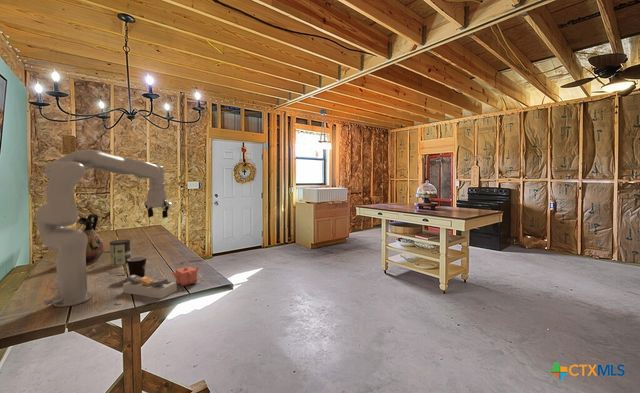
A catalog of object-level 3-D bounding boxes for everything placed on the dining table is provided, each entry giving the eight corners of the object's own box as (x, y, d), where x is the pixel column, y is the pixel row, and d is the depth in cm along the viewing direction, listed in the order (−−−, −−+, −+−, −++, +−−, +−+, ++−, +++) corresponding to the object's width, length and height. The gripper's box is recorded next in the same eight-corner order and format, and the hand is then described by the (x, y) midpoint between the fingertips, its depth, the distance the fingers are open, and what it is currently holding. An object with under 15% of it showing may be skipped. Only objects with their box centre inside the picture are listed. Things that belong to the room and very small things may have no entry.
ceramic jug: (91, 265, 169) (89, 216, 166) (66, 265, 169) (63, 216, 167) (112, 257, 186) (110, 212, 183) (89, 257, 186) (87, 212, 184)
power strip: (161, 298, 124) (160, 288, 124) (115, 291, 132) (114, 281, 131) (176, 290, 133) (176, 281, 132) (132, 284, 140) (132, 275, 140)
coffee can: (126, 260, 180) (125, 238, 179) (134, 263, 174) (133, 240, 173) (107, 264, 171) (106, 241, 170) (115, 267, 166) (114, 244, 165)
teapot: (166, 284, 141) (165, 267, 140) (196, 276, 152) (196, 261, 151) (175, 290, 133) (174, 273, 132) (206, 282, 144) (205, 266, 143)
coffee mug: (137, 280, 145) (136, 261, 145) (123, 279, 147) (122, 260, 146) (155, 273, 157) (154, 255, 156) (141, 271, 158) (141, 254, 158)
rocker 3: (160, 285, 125) (160, 281, 125) (150, 286, 127) (149, 282, 127) (168, 281, 129) (167, 278, 129) (157, 283, 130) (157, 279, 130)
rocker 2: (148, 286, 127) (148, 282, 127) (137, 281, 129) (138, 278, 128) (155, 282, 131) (156, 279, 131) (145, 278, 132) (146, 275, 132)
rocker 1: (136, 284, 129) (136, 281, 129) (126, 280, 131) (126, 276, 130) (143, 281, 133) (144, 278, 133) (134, 277, 134) (134, 273, 134)
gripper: (138, 187, 158) (139, 217, 159) (165, 187, 154) (165, 218, 155) (149, 186, 165) (150, 215, 166) (174, 187, 161) (175, 216, 163)
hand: (157, 217), depth 161 cm, fingers open, 9 cm apart
